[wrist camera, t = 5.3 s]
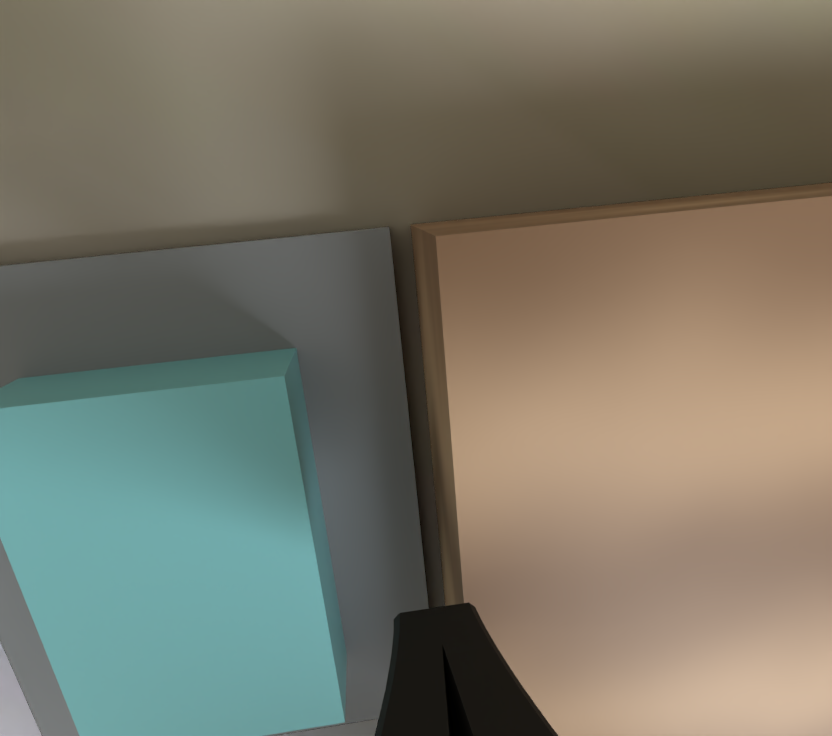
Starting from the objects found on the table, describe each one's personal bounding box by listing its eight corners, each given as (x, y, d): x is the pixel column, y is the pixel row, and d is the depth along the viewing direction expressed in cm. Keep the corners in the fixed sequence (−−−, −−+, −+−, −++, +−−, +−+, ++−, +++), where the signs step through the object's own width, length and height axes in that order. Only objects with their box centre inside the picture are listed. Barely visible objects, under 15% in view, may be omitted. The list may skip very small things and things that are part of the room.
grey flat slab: (437, 696, 16) (438, 708, 16) (65, 757, 15) (57, 772, 15) (388, 226, 12) (389, 227, 11) (-140, 279, 11) (-158, 282, 10)
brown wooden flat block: (931, 614, 17) (1094, 731, 13) (453, 693, 16) (482, 846, 12) (1058, 160, 13) (1354, 142, 9) (410, 224, 12) (436, 235, 8)
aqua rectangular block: (90, 763, 12) (126, 688, 14) (344, 722, 13) (346, 654, 15) (-49, 414, 9) (18, 378, 11) (284, 375, 10) (296, 347, 12)
